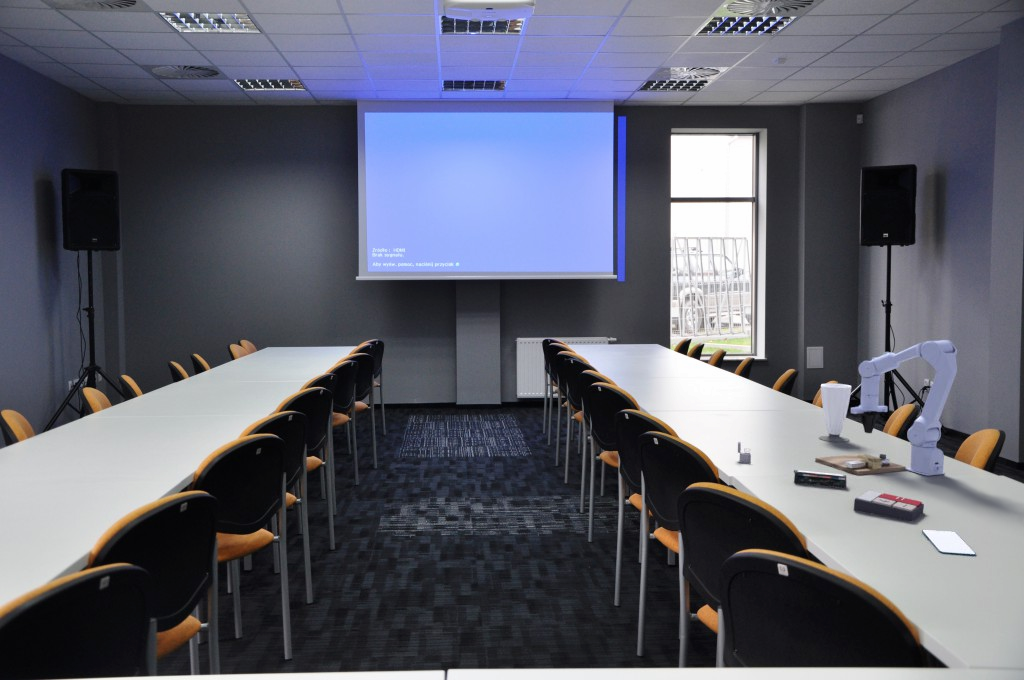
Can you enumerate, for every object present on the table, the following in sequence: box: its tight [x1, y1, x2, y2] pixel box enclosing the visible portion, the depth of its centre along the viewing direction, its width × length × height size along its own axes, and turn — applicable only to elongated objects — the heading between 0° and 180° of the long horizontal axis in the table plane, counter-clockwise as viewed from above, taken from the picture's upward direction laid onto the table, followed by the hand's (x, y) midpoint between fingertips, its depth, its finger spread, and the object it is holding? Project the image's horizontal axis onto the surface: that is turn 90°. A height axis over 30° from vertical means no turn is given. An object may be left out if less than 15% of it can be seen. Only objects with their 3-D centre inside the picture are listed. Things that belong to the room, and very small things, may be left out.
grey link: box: [845, 457, 891, 468], centre depth 262 cm, size 17×4×2 cm, turn 112°
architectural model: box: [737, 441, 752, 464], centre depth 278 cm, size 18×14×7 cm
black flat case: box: [793, 469, 848, 489], centre depth 242 cm, size 14×25×4 cm, turn 66°
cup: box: [818, 383, 852, 443], centre depth 310 cm, size 12×12×22 cm
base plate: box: [814, 453, 907, 476], centre depth 268 cm, size 20×20×4 cm
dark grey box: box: [853, 490, 925, 523], centre depth 215 cm, size 11×4×15 cm
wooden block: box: [857, 453, 881, 469], centre depth 261 cm, size 7×4×3 cm, turn 19°
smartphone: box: [921, 529, 977, 557], centre depth 190 cm, size 8×1×16 cm
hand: (868, 432), depth 277 cm, fingers closed
